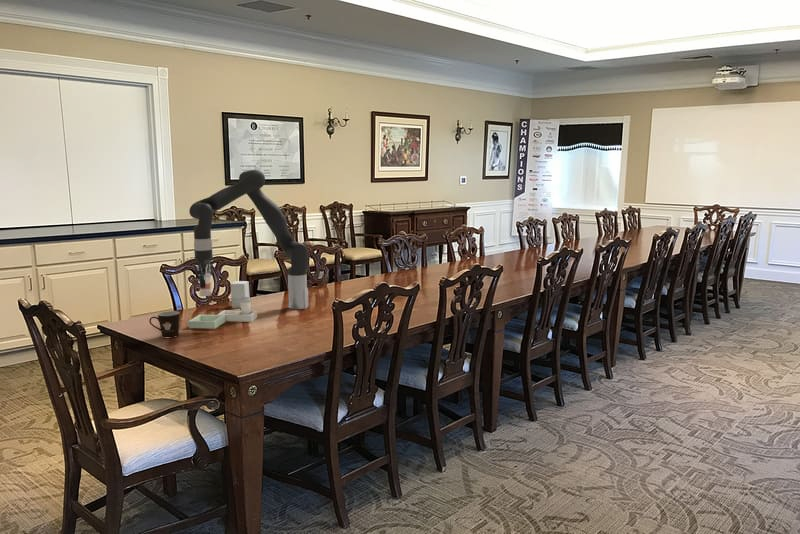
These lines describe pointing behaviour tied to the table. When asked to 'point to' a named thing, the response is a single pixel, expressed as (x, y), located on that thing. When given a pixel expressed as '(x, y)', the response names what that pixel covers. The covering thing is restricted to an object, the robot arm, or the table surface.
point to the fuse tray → (207, 321)
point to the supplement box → (239, 292)
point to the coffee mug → (168, 323)
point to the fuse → (245, 305)
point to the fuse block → (238, 316)
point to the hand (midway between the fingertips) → (205, 286)
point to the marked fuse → (207, 289)
